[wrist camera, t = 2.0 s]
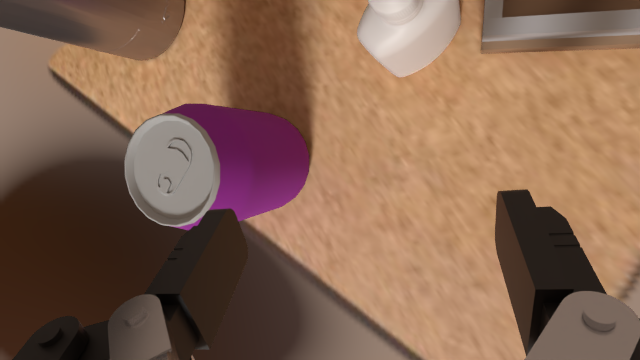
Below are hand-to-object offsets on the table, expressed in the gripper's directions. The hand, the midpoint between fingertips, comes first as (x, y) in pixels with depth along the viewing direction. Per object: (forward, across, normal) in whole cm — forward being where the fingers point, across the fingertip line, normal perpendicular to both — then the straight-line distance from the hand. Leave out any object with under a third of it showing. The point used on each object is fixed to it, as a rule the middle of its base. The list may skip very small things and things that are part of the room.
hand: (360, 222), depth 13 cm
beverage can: (+18, -10, -8) cm, 22 cm away
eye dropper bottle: (+20, +3, 0) cm, 20 cm away
